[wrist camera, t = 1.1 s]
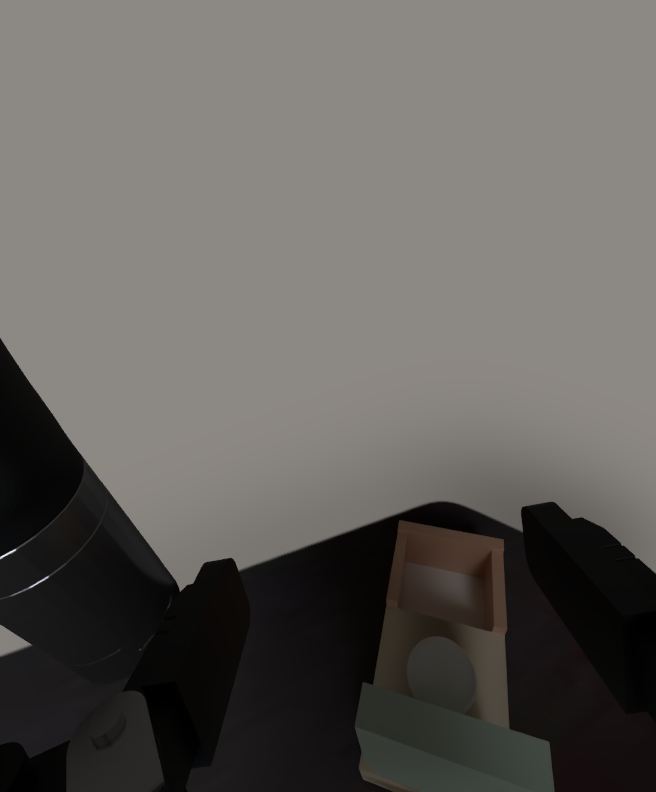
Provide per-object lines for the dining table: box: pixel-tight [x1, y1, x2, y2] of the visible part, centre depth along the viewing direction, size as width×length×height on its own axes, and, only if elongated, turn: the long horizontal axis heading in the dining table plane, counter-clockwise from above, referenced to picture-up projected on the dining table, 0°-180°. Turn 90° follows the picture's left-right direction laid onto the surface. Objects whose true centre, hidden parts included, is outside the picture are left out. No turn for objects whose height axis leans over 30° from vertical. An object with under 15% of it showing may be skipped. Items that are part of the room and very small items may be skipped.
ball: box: [407, 636, 477, 714], centre depth 23 cm, size 4×4×4 cm
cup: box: [386, 520, 507, 635], centre depth 30 cm, size 8×6×6 cm
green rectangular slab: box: [355, 682, 554, 792], centre depth 18 cm, size 7×2×10 cm, turn 73°
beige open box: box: [359, 605, 509, 792], centre depth 25 cm, size 8×9×4 cm
